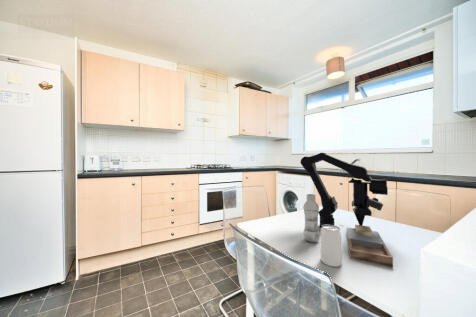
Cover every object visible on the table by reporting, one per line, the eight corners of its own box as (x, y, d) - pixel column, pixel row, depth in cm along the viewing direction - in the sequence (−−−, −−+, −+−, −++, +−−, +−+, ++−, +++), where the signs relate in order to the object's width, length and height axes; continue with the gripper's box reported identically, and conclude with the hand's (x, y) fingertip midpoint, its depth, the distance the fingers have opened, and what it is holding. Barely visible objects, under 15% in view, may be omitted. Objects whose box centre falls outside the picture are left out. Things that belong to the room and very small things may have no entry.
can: (317, 257, 67) (316, 224, 67) (334, 256, 68) (334, 223, 68) (327, 268, 61) (327, 231, 61) (346, 267, 61) (345, 230, 61)
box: (350, 258, 67) (350, 249, 67) (348, 245, 76) (348, 238, 76) (392, 266, 61) (392, 257, 61) (385, 252, 71) (385, 244, 71)
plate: (348, 245, 77) (348, 238, 77) (346, 233, 89) (346, 227, 89) (385, 252, 71) (384, 244, 71) (377, 238, 83) (377, 231, 83)
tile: (356, 234, 81) (356, 228, 81) (355, 230, 85) (355, 224, 85) (371, 236, 78) (371, 230, 78) (369, 232, 83) (369, 226, 83)
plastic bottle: (318, 238, 83) (318, 194, 84) (320, 245, 77) (319, 196, 77) (303, 236, 86) (303, 193, 86) (303, 243, 79) (303, 195, 79)
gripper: (386, 197, 77) (386, 235, 77) (377, 191, 94) (377, 222, 94) (354, 195, 82) (354, 231, 82) (351, 189, 99) (351, 219, 99)
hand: (360, 225), depth 89 cm, fingers closed
